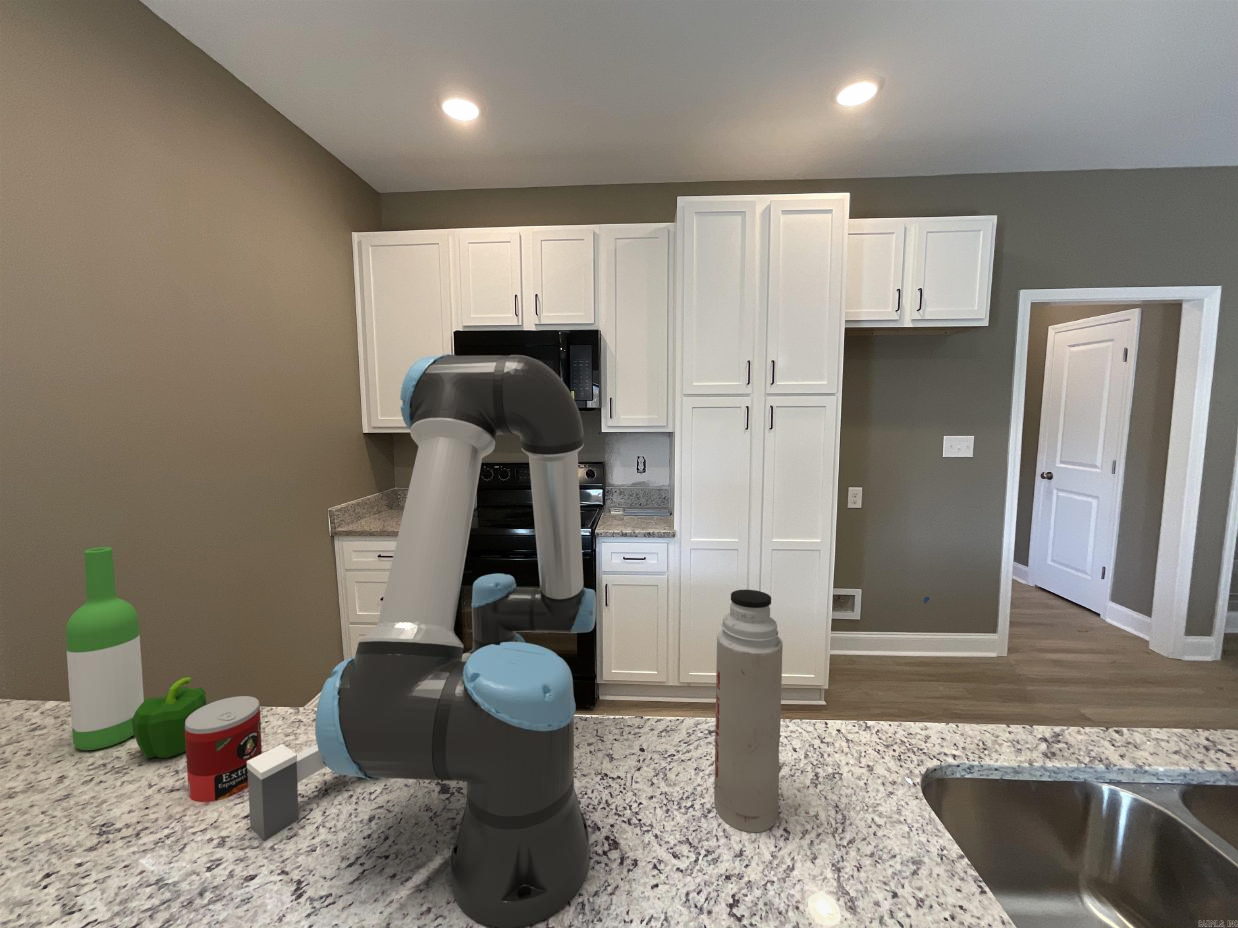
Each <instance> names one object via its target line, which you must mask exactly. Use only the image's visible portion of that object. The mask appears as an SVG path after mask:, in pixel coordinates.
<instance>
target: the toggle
mask: <svg viewBox="0 0 1238 928" xmlns="http://www.w3.org/2000/svg"><path fill="white" fill-rule="evenodd" d="M297 754H298V753H296V752H294V751H292V750H291V749H290V748H288V747H287V746H286V745H284V744H282V743H281V744H278V745H277V746H275V747H272V748H271V749H269V750H267V751H265V752H262V754H260V755H258V756H256V757H254V758H252V759H250V760H248V761H247V768H248V787H247V788H248V804H249V805H248V806H249V808H248V809H249V825H250V826H249V827H250V828H251V830H253V831H254V832H255V833H256V834H257V835H258V836H259V837H260V838H261V839H262V840H263V841H267V839H269V838H271V837H273V836H274V835H276V834H278V833H279V832H281V831H282V830H284V829H285V828H287V827H289V826H290V825H292V824H293V823H295V822H297V821H298V820H300V817H299V815H300V813H299V789H298V783H297Z"/></svg>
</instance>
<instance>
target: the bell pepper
mask: <svg viewBox="0 0 1238 928" xmlns="http://www.w3.org/2000/svg"><path fill="white" fill-rule="evenodd" d="M191 681H192V678H191V677H182V678H181V679H179V680H177V681H175V683H174V684H172V685H171V687H170V688H169V691H168V693H167V694H166V695H165V696H161V697H157V696H156V697H148V698H144V702H143V703H142V704H141V705H140V706H139V708H138V709H137V710H136V712H135V714H134V716H133V718H132V725H133V733H134V735H133V736H134V738H135V741H136V743H137V746H138V747H139V750H140V751H141V753H142V754H143V756H146V757H147V758H149V759H152V758H156V757H158V758H162V759H163V758H166V759H167V758H168V759H169V758H172V757H174V756H178V755H181V754H183V753H184V752H186V743H185V722H186V719H187V718H188V716H189V715H191V714H192V713H193V712H194V711H196V710H198V709H199V708H201V707H203V706H205V705H207V694H206V691H205V690H204V689H203V687H198V688H191V687H187V686H183V685H187V684H190V682H191Z"/></svg>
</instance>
